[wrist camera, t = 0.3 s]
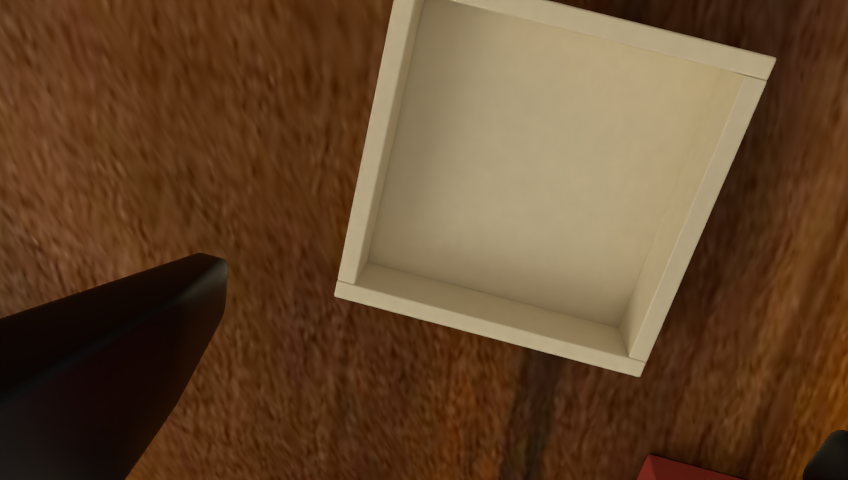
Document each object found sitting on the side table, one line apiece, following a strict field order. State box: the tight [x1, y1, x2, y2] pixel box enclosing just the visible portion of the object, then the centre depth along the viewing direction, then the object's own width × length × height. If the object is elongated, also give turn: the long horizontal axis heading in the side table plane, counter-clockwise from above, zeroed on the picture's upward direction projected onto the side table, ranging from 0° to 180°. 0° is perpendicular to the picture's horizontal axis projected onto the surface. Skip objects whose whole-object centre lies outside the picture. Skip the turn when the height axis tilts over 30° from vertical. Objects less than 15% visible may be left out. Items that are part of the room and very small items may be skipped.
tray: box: [334, 0, 776, 377], centre depth 20 cm, size 10×10×2 cm
